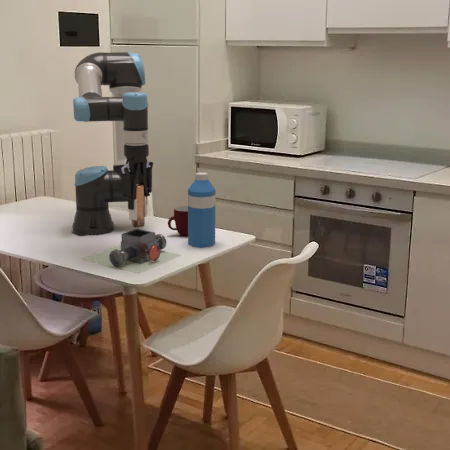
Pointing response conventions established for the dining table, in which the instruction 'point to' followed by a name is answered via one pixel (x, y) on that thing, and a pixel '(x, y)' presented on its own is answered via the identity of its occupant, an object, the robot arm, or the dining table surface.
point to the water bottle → (201, 212)
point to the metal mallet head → (138, 247)
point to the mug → (180, 220)
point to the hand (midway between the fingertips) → (138, 217)
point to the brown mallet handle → (139, 207)
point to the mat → (128, 266)
